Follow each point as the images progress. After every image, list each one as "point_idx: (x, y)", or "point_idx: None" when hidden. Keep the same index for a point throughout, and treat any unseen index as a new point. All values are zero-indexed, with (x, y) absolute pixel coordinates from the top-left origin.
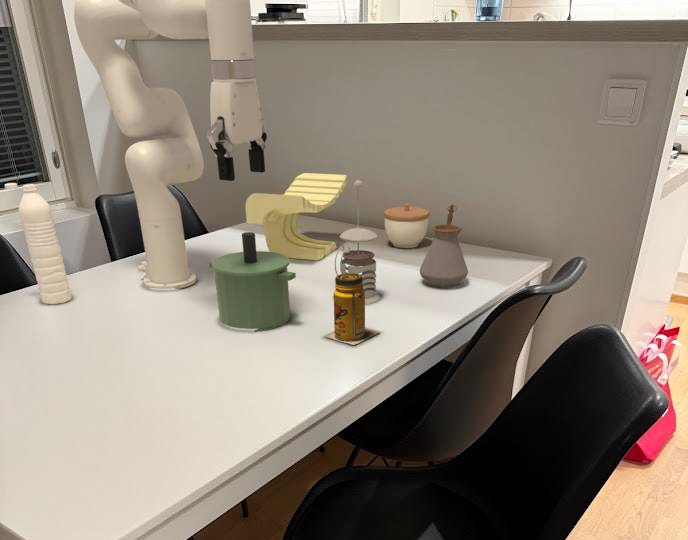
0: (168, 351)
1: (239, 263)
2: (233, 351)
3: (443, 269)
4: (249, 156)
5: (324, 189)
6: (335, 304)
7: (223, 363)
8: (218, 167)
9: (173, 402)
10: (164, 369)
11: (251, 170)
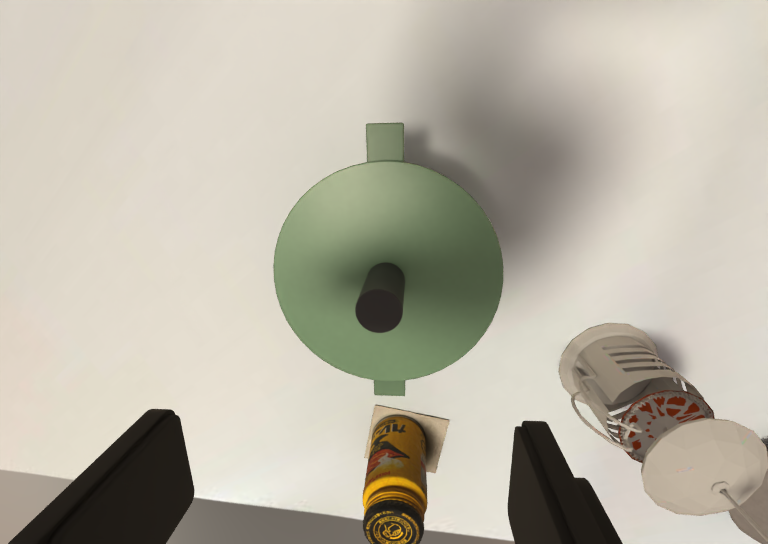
0: (171, 195)
1: (353, 263)
2: (241, 301)
3: (752, 526)
4: (549, 520)
5: None
6: (369, 471)
7: (195, 316)
8: (93, 466)
9: (60, 333)
10: (118, 245)
11: (517, 434)
